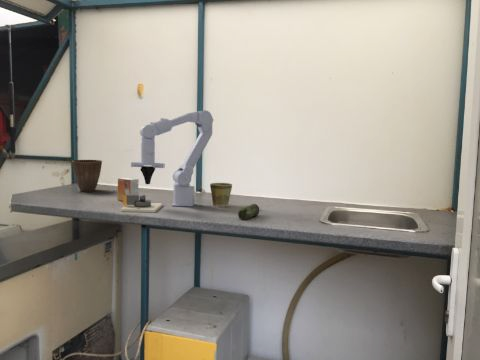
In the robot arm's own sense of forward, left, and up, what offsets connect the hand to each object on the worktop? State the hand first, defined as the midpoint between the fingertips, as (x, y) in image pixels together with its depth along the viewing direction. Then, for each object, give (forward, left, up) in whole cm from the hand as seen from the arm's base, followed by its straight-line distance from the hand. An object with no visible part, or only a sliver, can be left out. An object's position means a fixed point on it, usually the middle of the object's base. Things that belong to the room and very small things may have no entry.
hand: (147, 184), depth 177 cm
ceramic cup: (-32, -9, -10) cm, 35 cm away
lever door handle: (+3, +5, -9) cm, 11 cm away
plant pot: (+41, -38, -10) cm, 57 cm away
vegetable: (-44, +16, -10) cm, 48 cm away
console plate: (+1, +5, -10) cm, 11 cm away
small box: (+12, -12, -10) cm, 20 cm away
